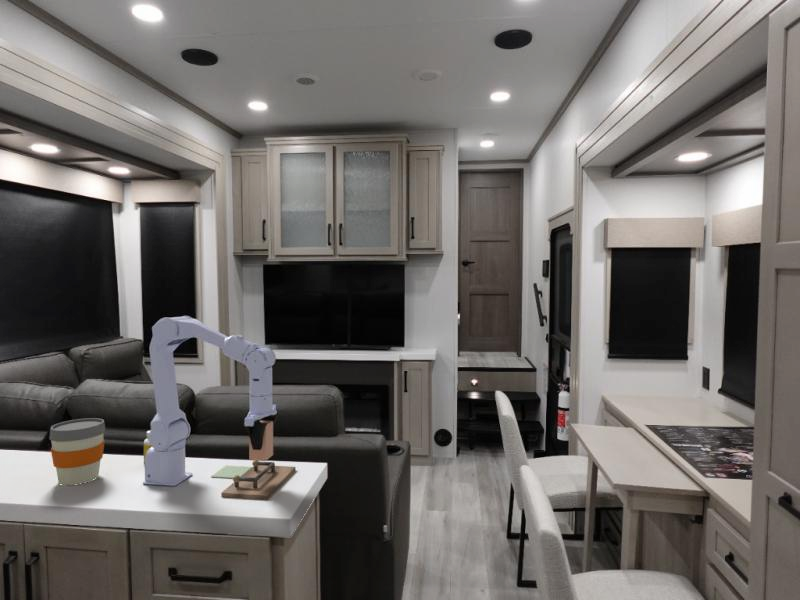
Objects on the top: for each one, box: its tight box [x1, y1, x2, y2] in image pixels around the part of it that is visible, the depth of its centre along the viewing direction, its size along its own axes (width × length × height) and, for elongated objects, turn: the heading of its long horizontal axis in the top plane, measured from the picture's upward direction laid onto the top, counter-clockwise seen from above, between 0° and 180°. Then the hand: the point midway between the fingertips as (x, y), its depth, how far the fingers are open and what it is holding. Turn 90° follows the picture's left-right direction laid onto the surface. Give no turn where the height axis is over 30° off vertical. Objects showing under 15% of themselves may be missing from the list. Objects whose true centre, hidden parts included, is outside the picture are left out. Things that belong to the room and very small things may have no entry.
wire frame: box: [220, 460, 296, 501], centre depth 126 cm, size 12×19×4 cm, turn 172°
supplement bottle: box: [143, 429, 152, 467], centre depth 139 cm, size 5×5×10 cm
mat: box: [210, 465, 253, 480], centre depth 133 cm, size 8×8×1 cm
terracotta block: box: [248, 421, 274, 462], centre depth 123 cm, size 4×4×9 cm
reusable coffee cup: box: [48, 417, 106, 486], centre depth 128 cm, size 13×13×15 cm
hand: (261, 446), depth 124 cm, fingers closed on terracotta block, 4 cm apart
